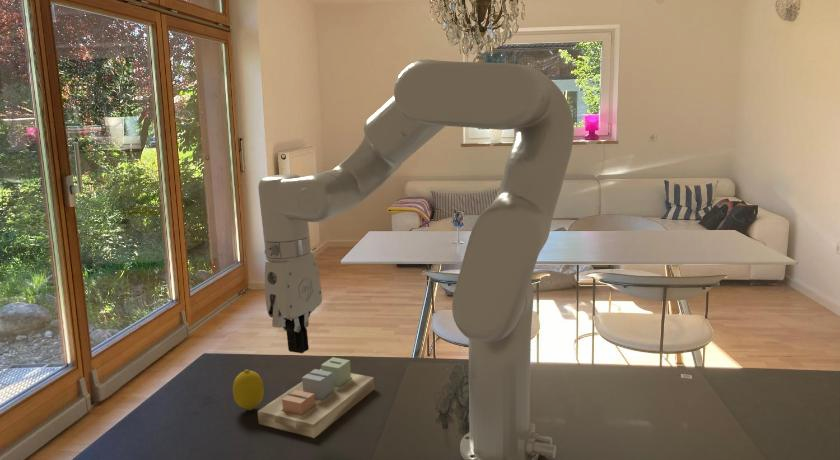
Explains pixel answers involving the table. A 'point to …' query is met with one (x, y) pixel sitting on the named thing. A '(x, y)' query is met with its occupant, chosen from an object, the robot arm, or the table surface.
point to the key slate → (318, 383)
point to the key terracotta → (298, 402)
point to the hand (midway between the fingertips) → (298, 350)
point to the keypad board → (317, 408)
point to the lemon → (248, 389)
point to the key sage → (338, 370)
